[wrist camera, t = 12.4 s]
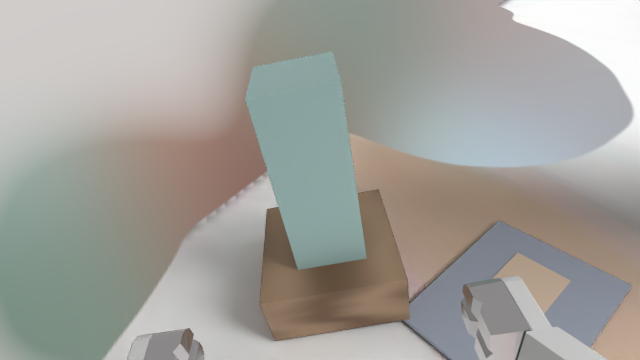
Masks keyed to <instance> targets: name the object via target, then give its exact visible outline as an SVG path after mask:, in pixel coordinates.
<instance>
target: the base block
mask: <svg viewBox="0 0 640 360" xmlns="http://www.w3.org/2000/svg"><path fill="white" fill-rule="evenodd" d="M357 195H358V202H359V209H360V215H361V222H362V229H363V236H364V243H365V250H366V257H367V258H366V259H360V260H354V261H348V262H343V263H337V264H331V265H325V266H319V267H313V268H307V269H301V270H298V268H297V265H296V262H295V258H294V255H293V252H292V249H291V246H290V242H289V239H288V236H287V233H286V229H285V226H284V223H283V220H282V216H281V213H280V210H279V207H277V208H271V209H267V214H266V227H265V240H264V253H263V266H262V279H261V292H260V307H261V309H262V311H263V313H264V316H265V318H266V320H267V323H268V325H269V327H270V330H271V332H272V334H273V337H274V339H275V341H278V340H284V339H290V338H297V337H303V336H309V335H315V334H321V333H328V332H334V331H340V330H346V329H352V328H359V327H365V326H371V325H377V324H383V323H390V322H396V321H402V320H408V319H410V312H409V294H408V279H407V276H406V273H405V270H404V267H403V264H402V261H401V257H400V254H399V251H398V248H397V245H396V242H395V239H394V236H393V233H392V230H391V227H390V224H389V220H388V217H387V214H386V211H385V208H384V205H383V202H382V199H381V196H380V193H379V190H372V191H366V192H361V193H357Z"/></svg>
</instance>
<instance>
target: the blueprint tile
mask: <svg viewBox="0 0 640 360" xmlns="http://www.w3.org/2000/svg"><path fill="white" fill-rule="evenodd" d="M515 275H516V276H519V277H520V278H521V279H522V280H523V282H524V283H525V285H526V286H527V288H528V290H529V291H530V293H531V294H532V296H533V298H534V299H535V301H536V302H537V304H538V306H539V307H540V309H541V310H542V312H543V313H544V315H545V317H546V318H547V320H548V321H549V323H550V325H551V326H552V327H559V328H560V329H562V330H563V331H565V332H567V333H568V334H570V335H571V336H573V337H574V338H576V339H577V340H579V341H580V342H582V343H583V344H585V345H586V346H588V347H589V348H590V347H591V345H592V344H593V342H594V341H595V340H596V338H597V337H598V335H599V334H600V332H601V331H602V329H603V328H604V326H605V325H606V324H607V322H608V321H609V319H610V318H611V316H612V315H613V313H614V312H615V310H616V309H617V308H618V306H619V305H620V303H621V302H622V300H623V299H624V297H625V296H626V294H627V293H628V292H629V290H630V289H631V287H632V285H630V284H628V283H626V282H624V281H622V280H620V279H618V278H616V277H614V276H612V275H610V274H608V273H606V272H604V271H602V270H600V269H598V268H596V267H593V266H591V265H589V264H587V263H585V262H583V261H581V260H579V259H577V258H575V257H573V256H571V255H569V254H567V253H565V252H563V251H561V250H559V249H557V248H555V247H553V246H551V245H548V244H546V243H544V242H542V241H540V240H538V239H536V238H534V237H532V236H530V235H528V234H526V233H524V232H522V231H520V230H518V229H516V228H514V227H512V226H510V225H508V224H506V223H504V222H501V221H498V222H497V223H496V224H495V225H494V226H493V227H492V228H491V229H490V230H489V231H487V232H486V233H485V234H484V235H483V236H482V237H481V238H480V239H479V240H478V241H477V242H476V243H474V244H473V245H472V246H471V247H470V248H469V249H468V250H467V251H466V252H465V253H464V254H463V255H462V256H460V257H459V258H458V259H457V260H456V261H455V262H454V263H453V264H452V265H451V266H450V267H449V268H448V269H446V270H445V271H444V272H443V273H442V274H441V275H440V276H439V277H438V278H437V279H436V280H435V281H433V282H432V283H431V284H430V285H429V286H428V287H427V288H426V289H425V290H424V291H423V292H422V293H421V294H419V295H418V296H417V297H416V298H415V299H414V300H413V301H412V302H411V303H410V304H409V312H410V319H408V320H402V321H404V322H405V323H406V324H407V325H408V326H410V327H411V328H412V329H413V330H414V331H416V332H417V333H418V334H419V335H420V336H422V337H423V338H424V339H425V340H426V341H428V342H429V343H430V344H431V345H432V346H434V347H435V348H436V349H437V350H438V351H440V352H441V353H442V354H443V355H444V356H446V357H447V358H448V359H449V360H479V357H478V355H477V353H476V350H475V348H474V346H475V339H476V338H474V337H473V336H472V335H470V334H469V333H468V331H467V329H466V326H465V323H464V320H463V317H462V311H461V301H462V300H463V299H464V298H465V296H464V294H463V292H462V290H463V285H464V284H467V283H472V282H478V281H484V280H489V279H495V278H504V277H509V276H515Z"/></svg>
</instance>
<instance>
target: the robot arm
mask: <svg viewBox="0 0 640 360" xmlns="http://www.w3.org/2000/svg"><path fill="white" fill-rule="evenodd" d="M462 292H463V294H464V296H465V298H464V299H463V300H462V301H461V311H462V317H463V320H464V323H465V326H466V329H467V331H468V333H469V334H470V335H472V336H473V337H474V338H476V339H475V346H474V348H475V350H476V353H477V355H478V357H479V360H608V359H606V358H605V357H603V356H602V355H600V354H598V353H597V352H595V351H594V350H592V349H591V348H589V347H588V346H586V345H585V344H583V343H582V342H580V341H579V340H577V339H576V338H574V337H573V336H571V335H570V334H568V333H567V332H565V331H563V330H562V329H560V328H559V327H552V326H551V325H550V323H549V321H548V320H547V318H546V317H545V315H544V313H543V312H542V310H541V309H540V307H539V306H538V304H537V302H536V301H535V299H534V298H533V296H532V294H531V293H530V291H529V290H528V288H527V286H526V285H525V283H524V282H523V280H522V279H521V278H520V277H519V276H516V275H515V276H509V277H504V278H495V279H489V280H484V281H478V282H472V283H467V284H464V285H463V290H462ZM193 335H194V334H193V333H192V331H191V330H190V329H189V328H188V329H181V330H175V331H168V332H162V333H153V334H147V335H141V336H137V338H136V339H135V340H134V342H133V344H132V346H131V349H130V352H129V355H128V358H127V360H204V351H203V348H202V346H201V344H200V343H199V342H198V341H195V340H193Z"/></svg>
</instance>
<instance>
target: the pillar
mask: <svg viewBox="0 0 640 360" xmlns="http://www.w3.org/2000/svg"><path fill="white" fill-rule="evenodd" d="M245 100H246V103H247V106H248V110H249V113H250V116H251V119H252V123H253V126H254V129H255V132H256V136H257V139H258V142H259V145H260V148H261V152H262V155H263V158H264V161H265V164H266V168H267V171H268V174H269V178H270V181H271V184H272V187H273V191H274V194H275V197H276V200H277V203H278V207H279V210H280V213H281V216H282V220H283V223H284V226H285V229H286V233H287V236H288V239H289V242H290V246H291V249H292V252H293V255H294V258H295V262H296V265H297V268H298V270H301V269H307V268H313V267H319V266H325V265H331V264H337V263H343V262H348V261H354V260H360V259H366V258H367V257H366V250H365V243H364V236H363V229H362V222H361V215H360V209H359V202H358V195H357V188H356V181H355V174H354V167H353V161H352V154H351V147H350V140H349V133H348V126H347V119H346V113H345V106H344V99H343V93H342V85H341V80H340V77H339V73H338V70H337V66H336V63H335V60H334V57H333V54H332V52H327V53H322V54H317V55H312V56H307V57H302V58H297V59H291V60H286V61H281V62H276V63H271V64H266V65H261V66H256V67H253V69H252V73H251V77H250V81H249V86H248V90H247V94H246V98H245Z"/></svg>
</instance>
